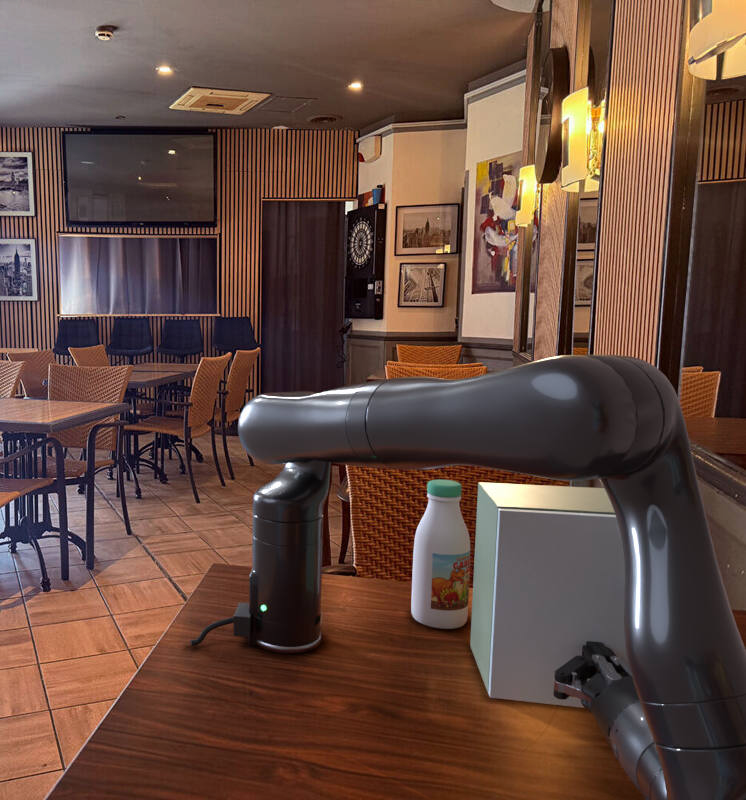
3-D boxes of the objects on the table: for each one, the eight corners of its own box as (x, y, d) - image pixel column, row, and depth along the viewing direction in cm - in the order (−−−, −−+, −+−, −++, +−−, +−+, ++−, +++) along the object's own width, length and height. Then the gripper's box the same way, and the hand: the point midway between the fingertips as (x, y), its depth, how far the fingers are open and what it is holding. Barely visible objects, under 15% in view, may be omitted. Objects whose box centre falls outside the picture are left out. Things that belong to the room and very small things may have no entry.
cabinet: (641, 709, 76) (656, 514, 74) (487, 693, 79) (497, 506, 77) (602, 658, 88) (614, 488, 86) (470, 646, 91) (478, 482, 89)
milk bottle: (407, 624, 97) (413, 485, 95) (413, 604, 104) (418, 474, 102) (466, 634, 94) (473, 491, 92) (468, 612, 101) (474, 479, 99)
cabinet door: (666, 742, 70) (684, 534, 68) (498, 723, 73) (509, 523, 71) (642, 709, 76) (657, 517, 73) (488, 693, 79) (498, 508, 77)
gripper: (753, 709, 57) (662, 622, 74) (578, 691, 59) (529, 611, 76) (746, 794, 57) (657, 689, 74) (573, 773, 60) (526, 676, 77)
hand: (592, 649), depth 75 cm, fingers closed
